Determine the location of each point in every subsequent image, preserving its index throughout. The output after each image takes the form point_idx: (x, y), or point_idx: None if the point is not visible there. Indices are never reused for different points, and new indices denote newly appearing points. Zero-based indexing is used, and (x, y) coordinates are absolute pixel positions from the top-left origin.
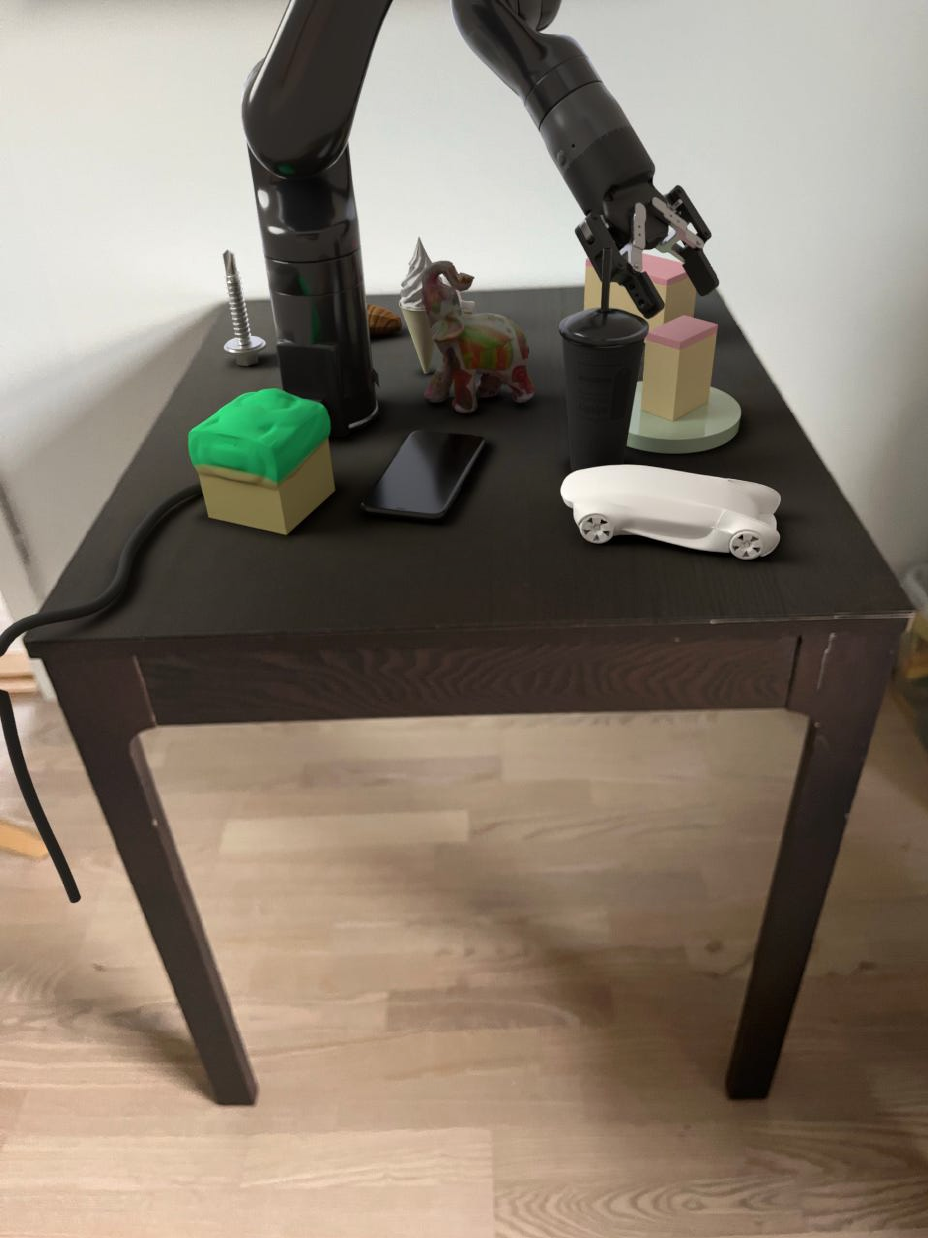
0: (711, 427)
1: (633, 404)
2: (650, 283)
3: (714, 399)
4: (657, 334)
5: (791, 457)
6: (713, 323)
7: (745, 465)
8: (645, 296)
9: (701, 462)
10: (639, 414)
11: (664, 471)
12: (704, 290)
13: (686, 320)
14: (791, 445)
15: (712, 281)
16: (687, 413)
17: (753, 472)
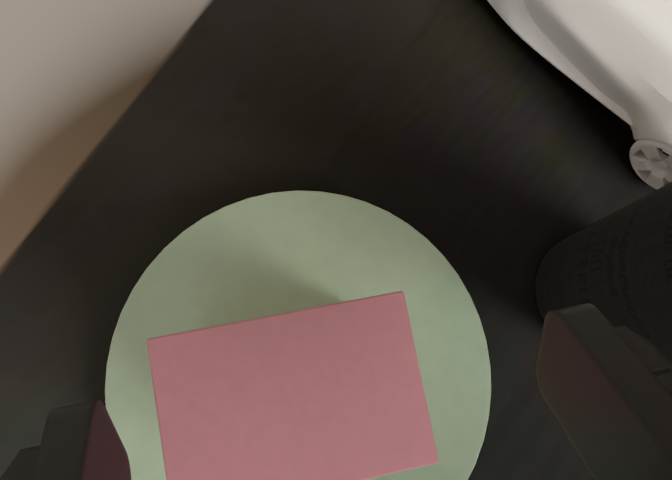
0: (302, 222)
1: (638, 202)
2: (651, 406)
3: None
4: (423, 409)
5: (211, 65)
6: (155, 356)
7: (319, 103)
8: (664, 373)
9: (386, 171)
10: None
11: (663, 15)
12: (118, 461)
13: (214, 461)
14: (164, 101)
15: (96, 422)
16: None
17: (329, 72)
